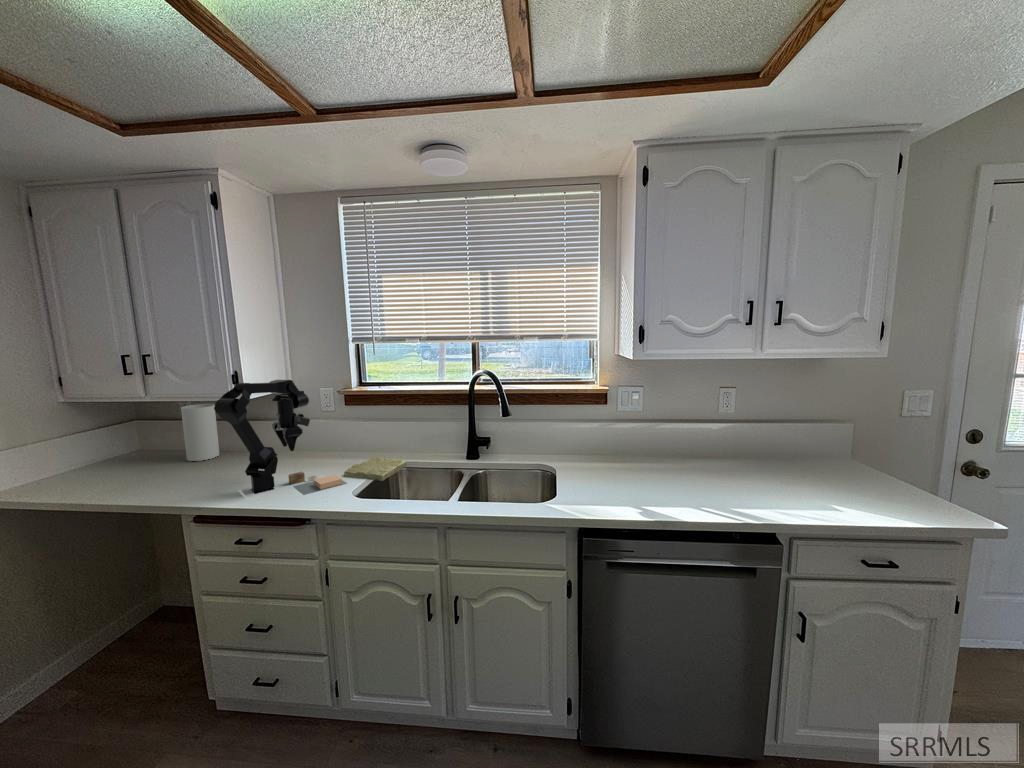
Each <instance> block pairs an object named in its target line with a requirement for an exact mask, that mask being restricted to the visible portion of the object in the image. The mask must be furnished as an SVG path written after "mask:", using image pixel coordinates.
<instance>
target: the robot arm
mask: <svg viewBox="0 0 1024 768" xmlns="http://www.w3.org/2000/svg"><path fill="white" fill-rule="evenodd" d="M263 393H264V394H265V393H270V394H276V395H275V396H274V397H273V398H272V400H271V401H272V402H276V406H277V410H276V411H277V413H276V417H277V420H278V421H274V422H273V423H271V424H272V426H271V427H272V430H273V432H274V433H275V435H276V437H277V438H278V440H279V441H280V443H281V445H282V446H283V447H287V448H288V449H289V450H290V452H294V451H295V448H296V443H297V439H298V438H299V437H300V436H301V435H303V433H304V432H303V427H300V426H298V425H301V426H304V427H309V424H310V422H311V421H310V420H311V418H308V417H305V414H303V413H298V414H297V413H296V412H295V409H299V408H303V407H307V406H308V404H309V403H310V399H309V397H308V395H307V394H306V393H305V390H300V389H298V387H297V386H296V384H295V383H294V380H292V379H274V380H271V381H268V382H253V383H252V382H238V383H236V384H235V385H234V386H233V387H232V389H230V390H229V391H227V392H225V393H224V394H223V395H222V396H221V397H220V398H219V399H218V400H216V403H214V405H215V407H214V410H215V414H217V415H218V416H219V417H220V418H221V419H222V420H224V421H225V422H227V423H228V424H230V425H231V426H232V428H233V430H234V431H235V433H236V434H237V436H238V438H239V439H240V441H242V443H243V444H244V446H245V448H246V449H247V451H248V452H249V456H248V461H249V463H248V466H247V467H246V469H245V471H244V473H245V474H246V476H250V480H251V482H250V483H251V488H250V491H251V492H252V493H253V494H254V495H257V494H260V493H265V492H268V491H270V492H271V491H274V490H275V477H274V476H273V475H274V474H276V473H277V469H278V468H277V466H278V461H279V459H278V454H277V453H276V452H275V450H274V448H273V447H272V446H265V445H264V444H263V443H262V440H261V439H260V437H259V435H258V434H257V433H256V431H255V430H254V428H253V426H252V425H251V423H250V421H249V420H248V418H247V415H248V410H247V409H248V408H247V406H248V405H249V403H250V402H251V400H250V399H251V396H252V394H263ZM238 397H239V398H238Z"/></svg>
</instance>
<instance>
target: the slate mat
mask: <svg viewBox="0 0 1024 768" xmlns="http://www.w3.org/2000/svg"><path fill="white" fill-rule="evenodd" d="M346 484H348V482H346V481H345V480H343V479H342V484H340V485H336V486H333V487H329V488H325V489H319V488H318V487H317V486H315V485H314V481H310V482H303V483H299V484H297V485H296V484H295V485H293V486H292V487H293V488H294V489H295V490H297V491H298V492H299V493H301V494H302V495H303V496H305V495H309V494H314V493H317V492H321V491H323V490H329V489H331V488H336V487H339V486H343V485H346Z"/></svg>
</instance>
